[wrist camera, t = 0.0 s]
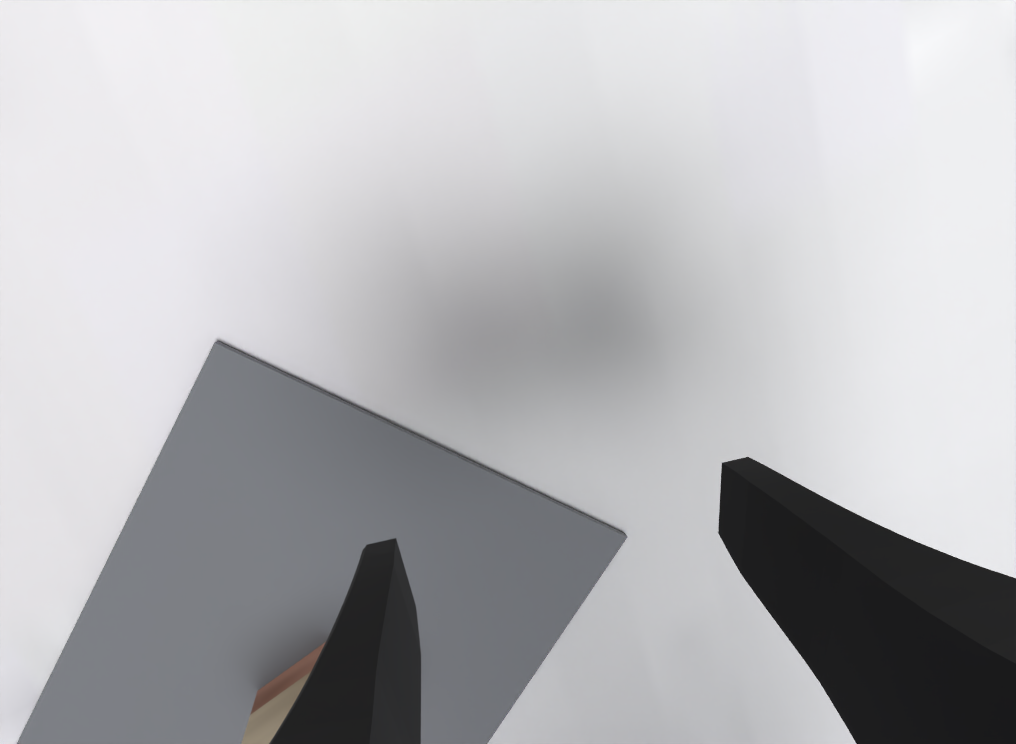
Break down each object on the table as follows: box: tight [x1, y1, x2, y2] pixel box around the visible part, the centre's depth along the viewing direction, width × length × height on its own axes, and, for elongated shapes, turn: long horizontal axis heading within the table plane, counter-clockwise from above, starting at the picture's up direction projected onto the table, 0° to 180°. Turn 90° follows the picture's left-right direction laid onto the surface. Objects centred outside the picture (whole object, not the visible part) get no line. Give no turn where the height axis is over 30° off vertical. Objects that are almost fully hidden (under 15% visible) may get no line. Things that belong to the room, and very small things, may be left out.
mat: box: [17, 341, 627, 744], centre depth 24 cm, size 20×18×1 cm
